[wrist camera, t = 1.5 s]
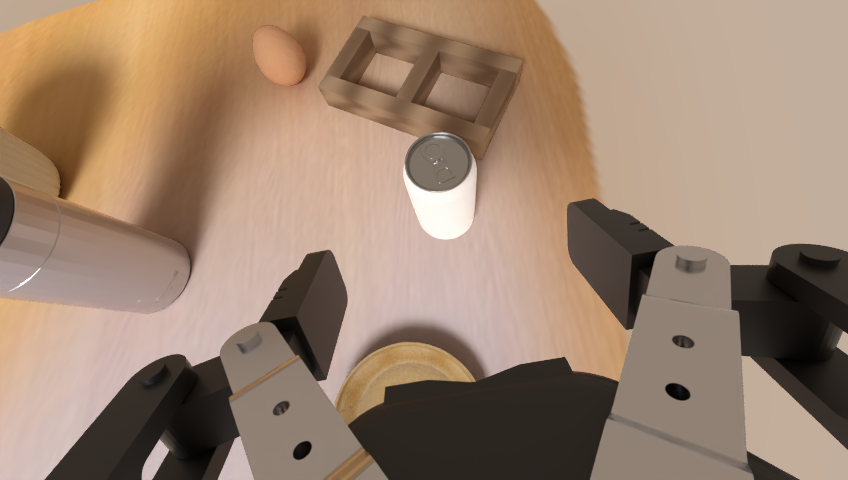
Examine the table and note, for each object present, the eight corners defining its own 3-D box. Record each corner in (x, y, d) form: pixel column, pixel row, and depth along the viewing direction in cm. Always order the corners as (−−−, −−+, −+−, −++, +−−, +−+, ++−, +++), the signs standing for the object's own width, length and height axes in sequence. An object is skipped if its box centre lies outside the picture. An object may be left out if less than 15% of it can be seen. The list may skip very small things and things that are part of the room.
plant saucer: (416, 312, 37) (413, 309, 35) (521, 425, 33) (525, 432, 31) (312, 414, 36) (300, 419, 33) (408, 547, 31) (403, 565, 29)
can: (460, 179, 41) (457, 115, 30) (484, 226, 39) (491, 176, 28) (410, 201, 41) (388, 145, 30) (431, 249, 39) (417, 209, 28)
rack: (328, 105, 47) (318, 86, 43) (370, 38, 49) (363, 15, 46) (481, 159, 42) (483, 143, 38) (519, 81, 44) (523, 60, 41)
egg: (297, 55, 50) (267, 3, 42) (323, 76, 48) (296, 26, 41) (265, 81, 49) (229, 33, 42) (290, 104, 47) (257, 58, 40)
